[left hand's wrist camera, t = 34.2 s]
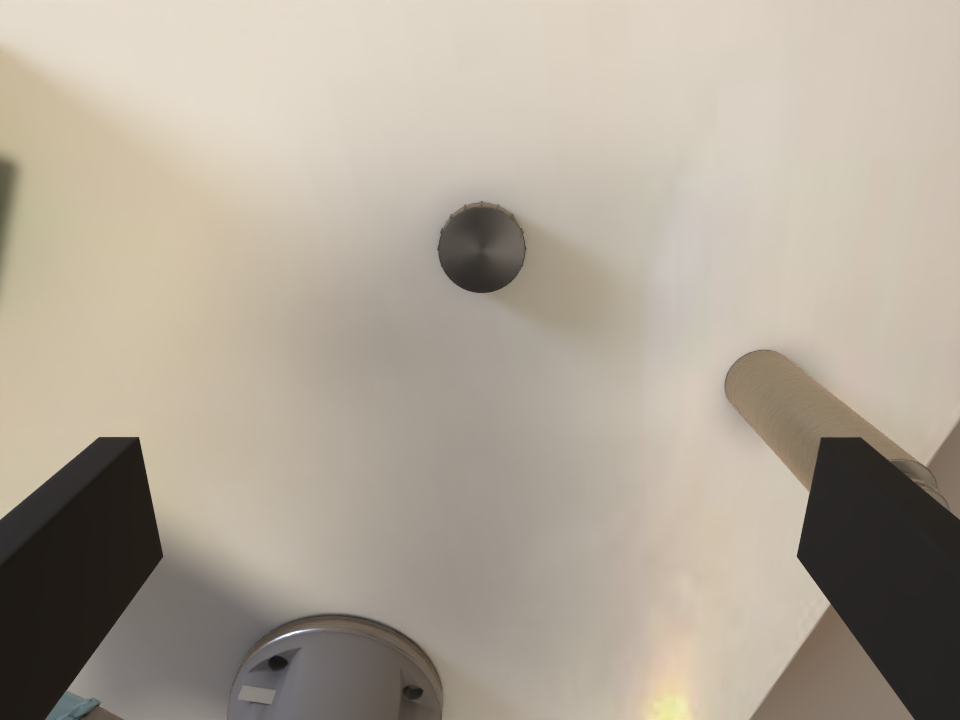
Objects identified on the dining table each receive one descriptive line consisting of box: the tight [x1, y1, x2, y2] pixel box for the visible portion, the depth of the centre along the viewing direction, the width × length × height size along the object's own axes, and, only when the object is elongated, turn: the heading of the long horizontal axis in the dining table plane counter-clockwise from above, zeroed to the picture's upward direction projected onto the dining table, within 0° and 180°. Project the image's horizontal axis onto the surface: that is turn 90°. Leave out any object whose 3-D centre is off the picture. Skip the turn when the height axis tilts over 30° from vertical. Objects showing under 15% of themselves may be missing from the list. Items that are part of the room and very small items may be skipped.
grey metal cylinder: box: [725, 350, 950, 511], centre depth 33 cm, size 4×4×15 cm
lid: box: [438, 201, 526, 293], centre depth 36 cm, size 5×5×2 cm
